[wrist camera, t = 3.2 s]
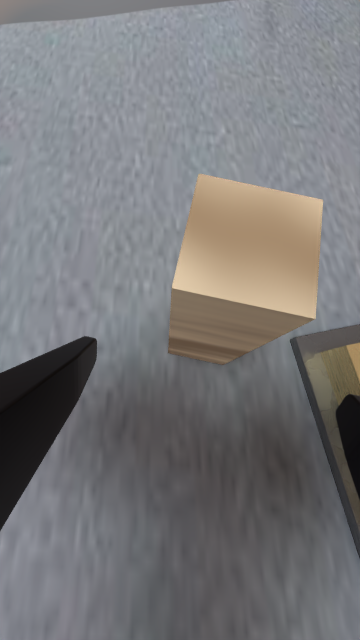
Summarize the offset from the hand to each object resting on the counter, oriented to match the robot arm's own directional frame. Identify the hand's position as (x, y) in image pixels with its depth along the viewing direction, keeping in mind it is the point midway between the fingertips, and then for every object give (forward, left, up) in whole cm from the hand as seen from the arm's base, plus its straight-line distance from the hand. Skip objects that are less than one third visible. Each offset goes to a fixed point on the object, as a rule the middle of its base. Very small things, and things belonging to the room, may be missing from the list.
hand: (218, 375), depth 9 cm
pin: (+4, -2, -11) cm, 12 cm away
